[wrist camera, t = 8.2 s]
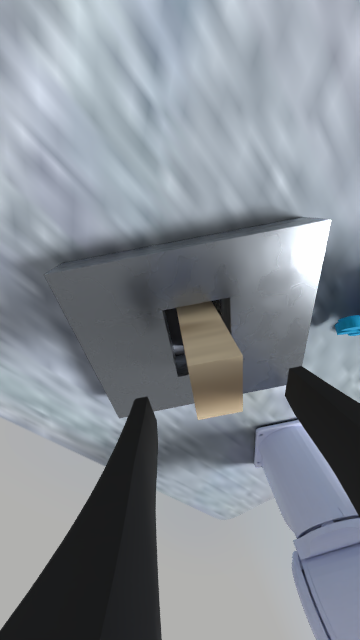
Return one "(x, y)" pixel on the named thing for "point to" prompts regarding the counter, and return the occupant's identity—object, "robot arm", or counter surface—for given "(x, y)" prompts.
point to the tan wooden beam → (211, 361)
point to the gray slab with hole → (187, 289)
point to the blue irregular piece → (348, 325)
